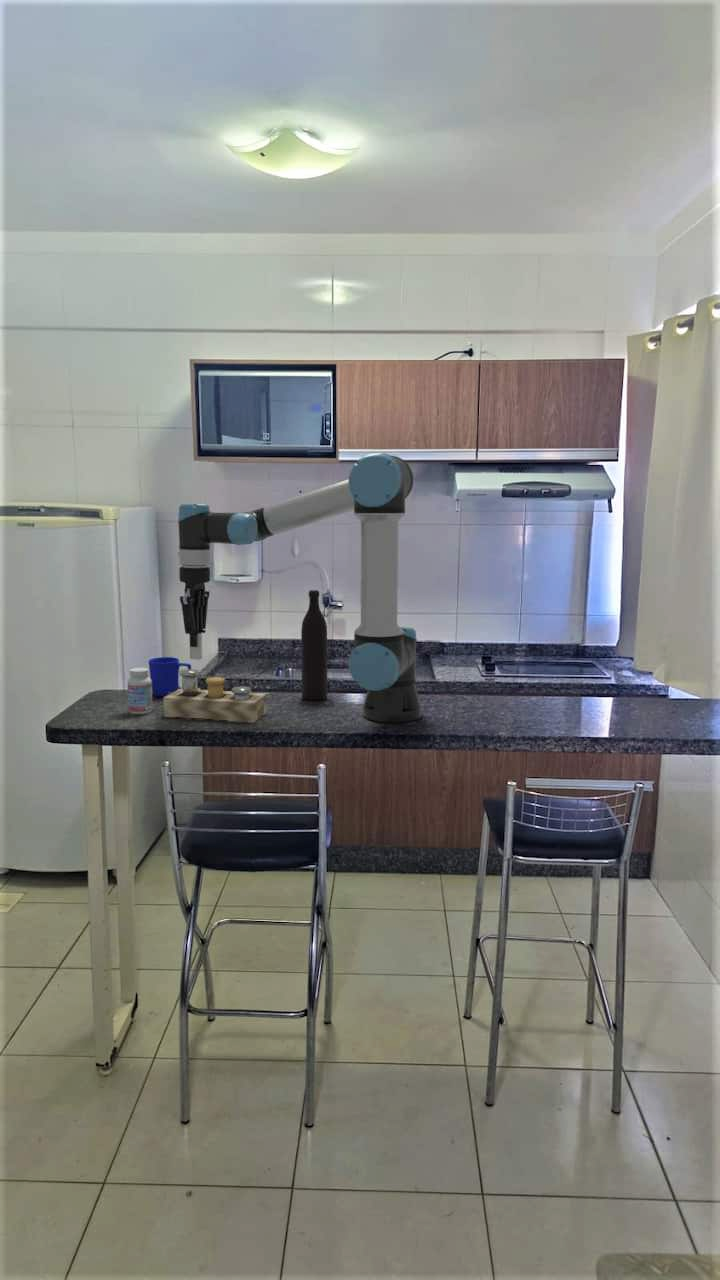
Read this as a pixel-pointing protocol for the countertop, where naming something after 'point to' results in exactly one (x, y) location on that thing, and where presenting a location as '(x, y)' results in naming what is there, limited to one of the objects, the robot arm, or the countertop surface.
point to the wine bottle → (314, 651)
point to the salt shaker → (189, 682)
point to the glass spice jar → (241, 692)
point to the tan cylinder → (215, 687)
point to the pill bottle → (139, 691)
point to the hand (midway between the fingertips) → (195, 658)
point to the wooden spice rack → (216, 706)
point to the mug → (165, 675)
